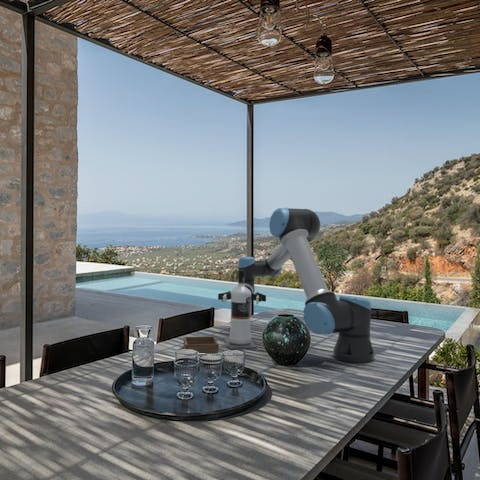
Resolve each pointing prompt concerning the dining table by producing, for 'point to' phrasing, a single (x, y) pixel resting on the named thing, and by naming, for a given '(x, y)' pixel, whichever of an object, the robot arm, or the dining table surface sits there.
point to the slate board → (241, 347)
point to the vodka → (240, 313)
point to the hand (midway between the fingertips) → (240, 300)
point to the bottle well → (202, 344)
